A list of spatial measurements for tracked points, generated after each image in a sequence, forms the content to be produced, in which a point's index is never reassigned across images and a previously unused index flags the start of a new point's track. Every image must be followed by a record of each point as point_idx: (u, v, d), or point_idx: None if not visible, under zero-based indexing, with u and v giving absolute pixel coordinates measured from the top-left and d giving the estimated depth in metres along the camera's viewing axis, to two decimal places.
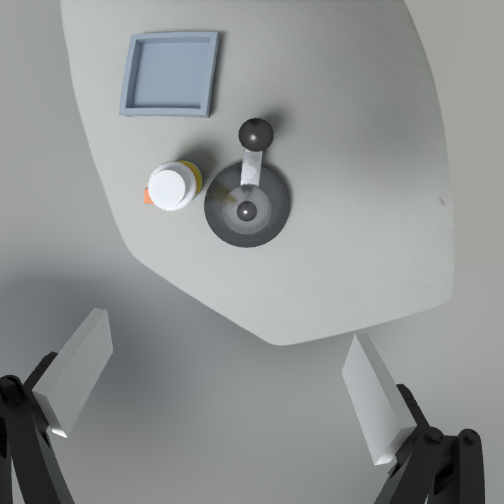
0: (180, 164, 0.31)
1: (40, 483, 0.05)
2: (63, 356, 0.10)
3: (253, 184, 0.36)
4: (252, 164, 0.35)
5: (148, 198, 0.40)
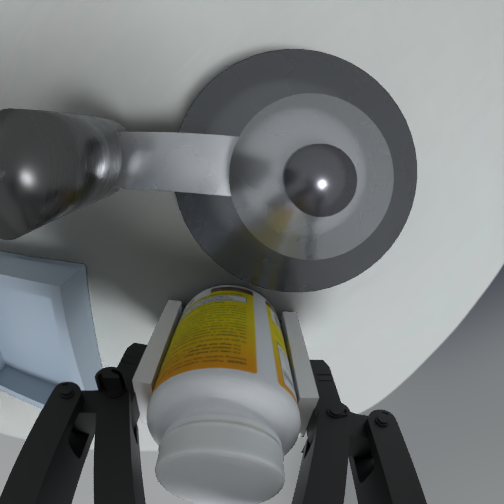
0: (150, 410, 0.09)
1: (119, 479, 0.06)
2: (154, 345, 0.12)
3: (227, 153, 0.10)
4: (161, 159, 0.10)
5: None
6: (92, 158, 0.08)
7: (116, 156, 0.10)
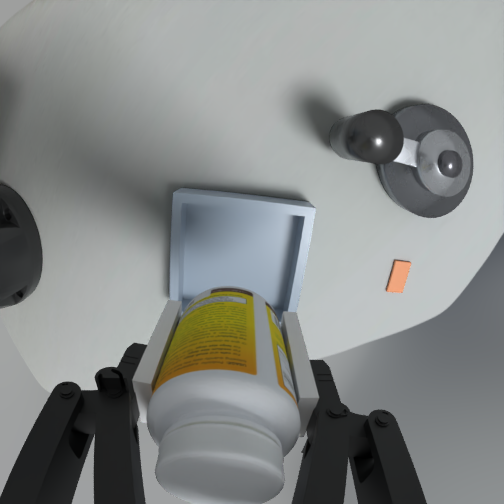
0: (150, 412, 0.09)
1: (119, 479, 0.06)
2: (154, 345, 0.12)
3: (416, 148, 0.22)
4: None
5: (398, 287, 0.29)
6: None
7: None
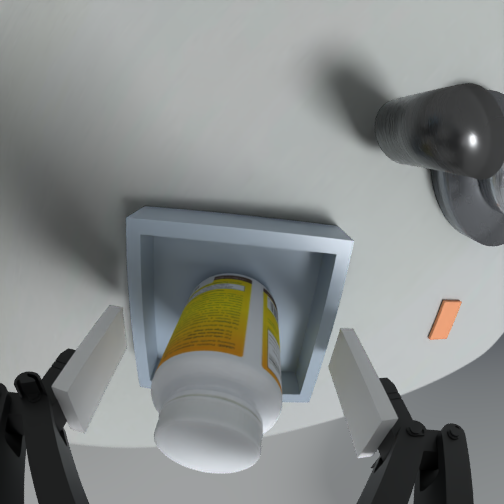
0: (153, 385, 0.11)
1: (55, 481, 0.05)
2: (81, 352, 0.11)
3: None
4: None
5: (443, 333, 0.20)
6: None
7: None
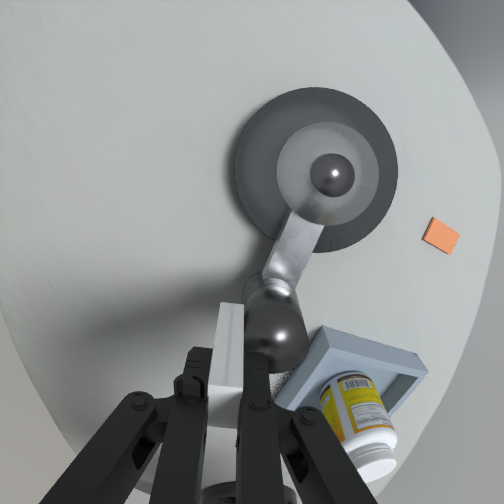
0: None
1: (181, 487, 0.06)
2: (220, 348, 0.13)
3: (299, 218, 0.18)
4: (289, 257, 0.19)
5: (452, 239, 0.22)
6: (281, 296, 0.17)
7: (279, 282, 0.19)
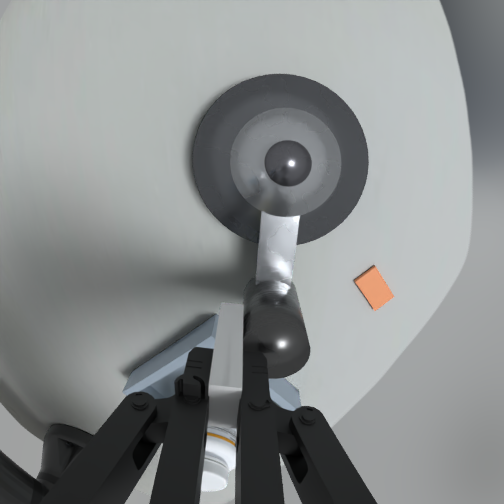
0: None
1: (182, 487, 0.06)
2: (221, 348, 0.13)
3: (272, 216, 0.17)
4: (275, 256, 0.18)
5: (384, 296, 0.23)
6: (272, 299, 0.16)
7: (271, 284, 0.18)
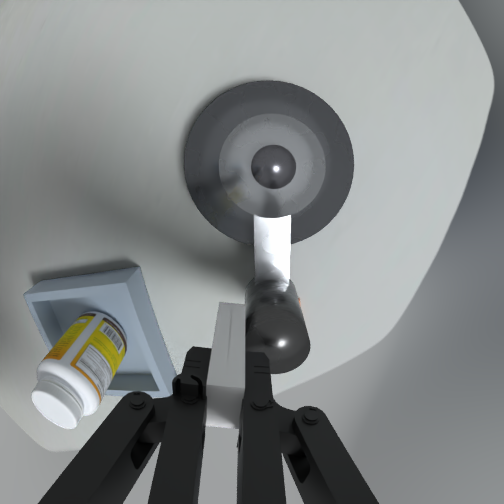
0: (38, 381, 0.17)
1: (180, 487, 0.06)
2: (219, 348, 0.13)
3: (264, 218, 0.18)
4: (270, 256, 0.19)
5: None
6: (270, 298, 0.17)
7: (269, 283, 0.19)
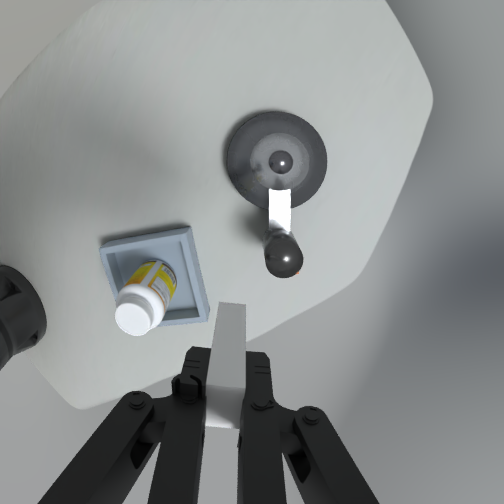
0: (116, 305, 0.30)
1: (179, 487, 0.06)
2: (218, 348, 0.13)
3: (275, 191, 0.31)
4: (278, 214, 0.32)
5: None
6: (279, 235, 0.30)
7: (278, 230, 0.32)
